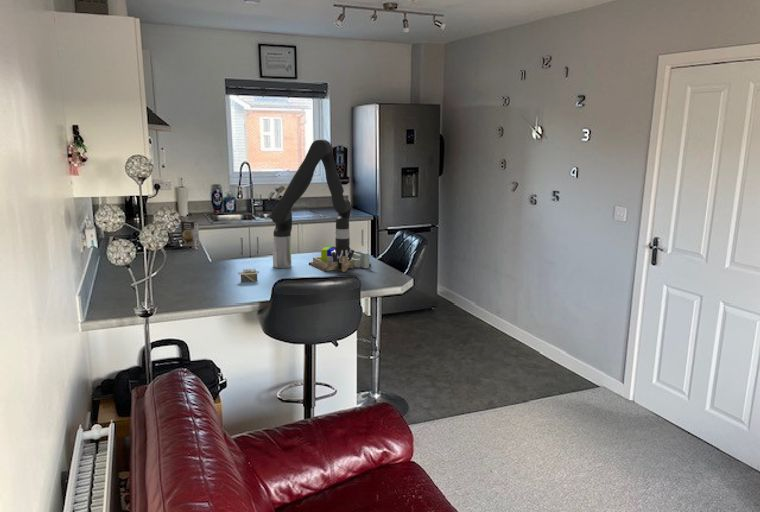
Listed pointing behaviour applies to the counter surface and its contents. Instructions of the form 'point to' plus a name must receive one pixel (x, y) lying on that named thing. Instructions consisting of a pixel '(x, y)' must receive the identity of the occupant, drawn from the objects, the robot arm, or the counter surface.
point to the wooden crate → (249, 275)
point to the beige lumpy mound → (333, 264)
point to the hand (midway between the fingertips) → (342, 268)
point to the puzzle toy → (327, 254)
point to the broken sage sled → (361, 260)
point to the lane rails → (323, 268)
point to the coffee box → (190, 233)
